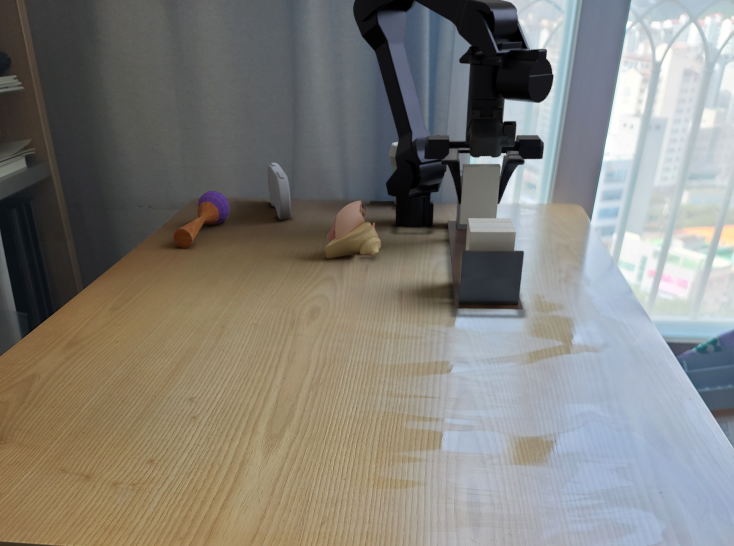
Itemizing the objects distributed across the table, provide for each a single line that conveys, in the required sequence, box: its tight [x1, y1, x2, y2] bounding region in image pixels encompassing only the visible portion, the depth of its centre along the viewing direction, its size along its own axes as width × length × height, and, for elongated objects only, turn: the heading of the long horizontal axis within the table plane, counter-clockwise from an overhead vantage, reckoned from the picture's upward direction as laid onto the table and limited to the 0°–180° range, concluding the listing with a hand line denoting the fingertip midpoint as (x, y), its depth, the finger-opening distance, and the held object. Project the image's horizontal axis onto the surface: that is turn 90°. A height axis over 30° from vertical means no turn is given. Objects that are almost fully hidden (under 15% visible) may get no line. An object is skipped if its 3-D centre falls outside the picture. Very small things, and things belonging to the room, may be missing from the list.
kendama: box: [173, 190, 231, 249], centre depth 137 cm, size 6×6×20 cm
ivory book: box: [460, 163, 502, 224], centre depth 124 cm, size 6×2×9 cm, turn 86°
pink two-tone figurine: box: [325, 199, 382, 259], centre depth 122 cm, size 9×10×10 cm
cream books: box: [466, 217, 517, 251], centre depth 103 cm, size 6×7×9 cm
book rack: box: [447, 220, 525, 310], centre depth 118 cm, size 9×48×8 cm, turn 176°
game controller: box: [267, 162, 292, 220], centre depth 149 cm, size 20×2×8 cm, turn 13°
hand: (478, 203), depth 125 cm, fingers closed on ivory book, 6 cm apart
